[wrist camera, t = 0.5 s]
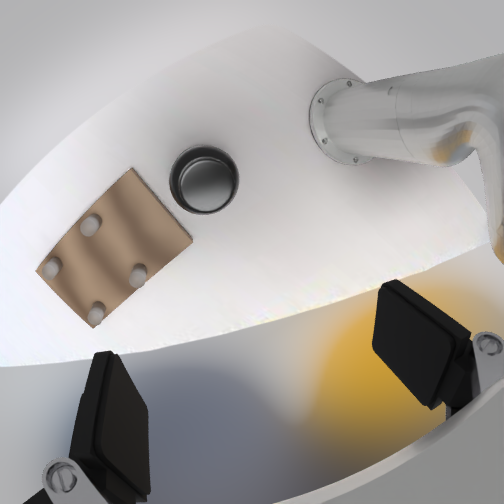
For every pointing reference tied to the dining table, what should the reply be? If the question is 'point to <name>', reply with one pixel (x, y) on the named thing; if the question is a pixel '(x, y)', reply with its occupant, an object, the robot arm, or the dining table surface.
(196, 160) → the supplement bottle
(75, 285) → the peg board
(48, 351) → the dining table surface
